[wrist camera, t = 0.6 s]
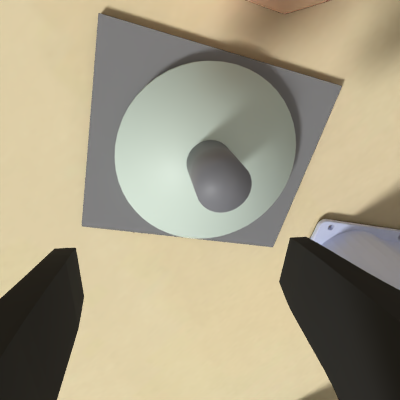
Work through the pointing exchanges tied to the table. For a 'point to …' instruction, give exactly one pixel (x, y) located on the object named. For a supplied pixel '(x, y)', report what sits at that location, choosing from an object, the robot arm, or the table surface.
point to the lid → (205, 149)
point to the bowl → (287, 4)
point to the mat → (143, 74)
